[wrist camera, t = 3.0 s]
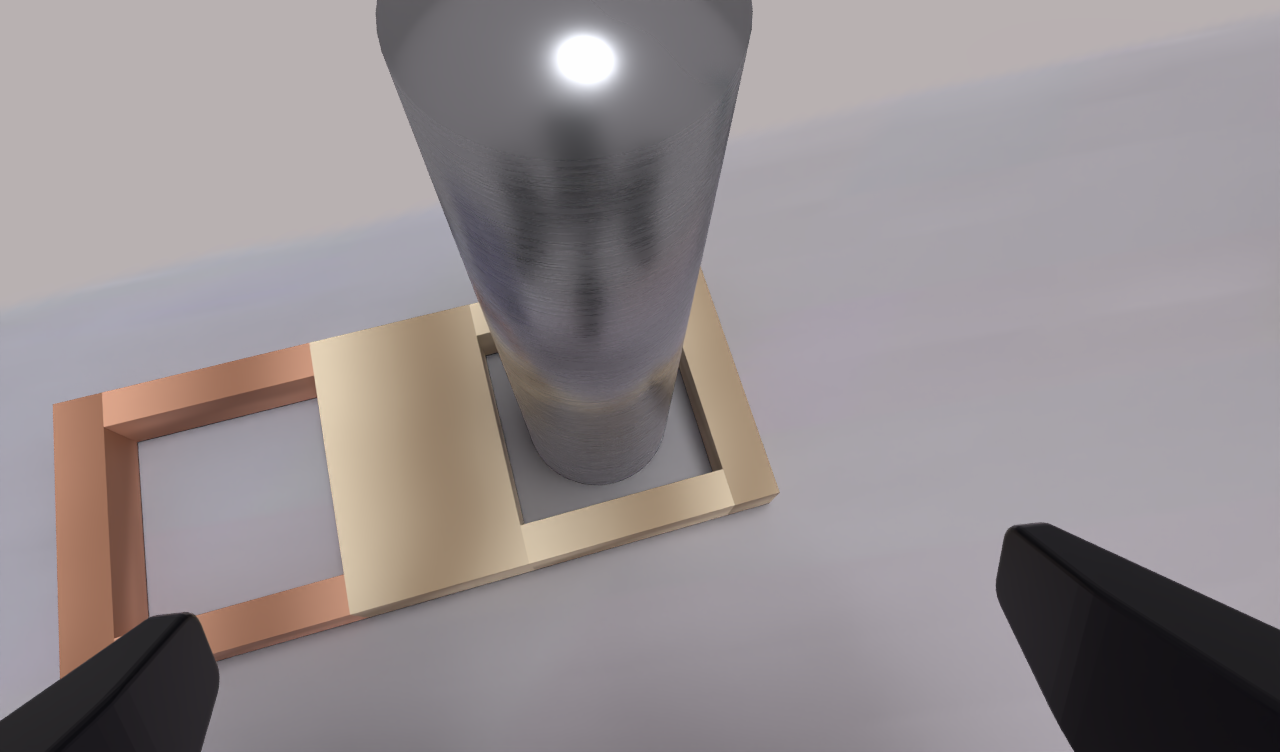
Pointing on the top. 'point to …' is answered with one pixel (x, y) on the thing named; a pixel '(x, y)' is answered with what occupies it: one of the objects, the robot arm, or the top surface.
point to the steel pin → (576, 193)
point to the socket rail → (374, 477)
